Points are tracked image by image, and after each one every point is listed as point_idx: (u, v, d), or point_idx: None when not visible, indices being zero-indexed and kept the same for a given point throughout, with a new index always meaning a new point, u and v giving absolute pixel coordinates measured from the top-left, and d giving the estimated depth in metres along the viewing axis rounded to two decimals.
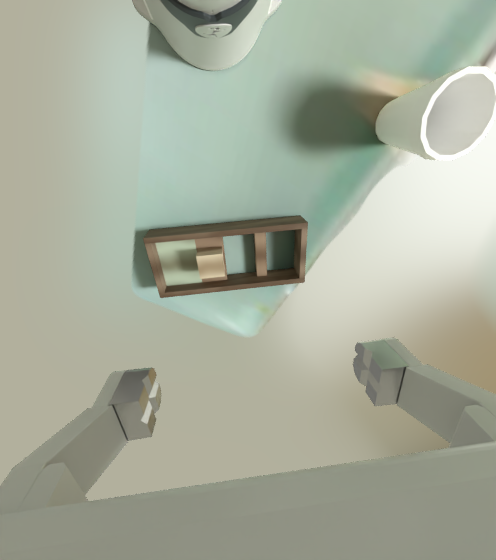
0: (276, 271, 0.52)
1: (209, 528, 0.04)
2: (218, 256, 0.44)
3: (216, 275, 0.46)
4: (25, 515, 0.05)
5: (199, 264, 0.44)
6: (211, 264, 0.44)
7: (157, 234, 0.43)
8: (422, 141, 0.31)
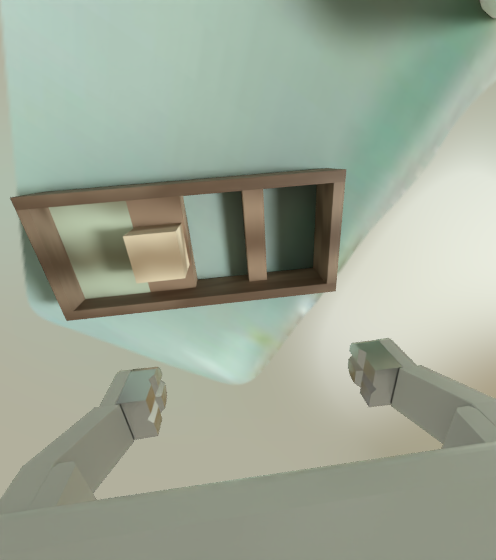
0: (283, 273, 0.30)
1: (209, 528, 0.04)
2: (169, 236, 0.22)
3: (168, 276, 0.23)
4: (25, 515, 0.05)
5: (131, 253, 0.22)
6: (155, 254, 0.22)
7: (47, 193, 0.22)
8: None
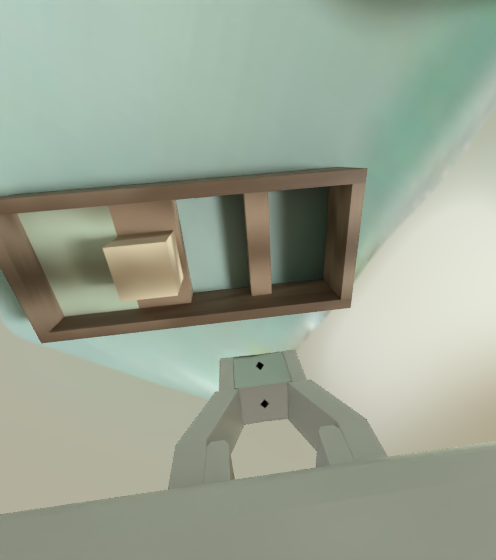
0: (290, 285, 0.26)
1: (209, 528, 0.04)
2: (158, 247, 0.18)
3: (157, 293, 0.20)
4: (25, 515, 0.05)
5: (113, 267, 0.19)
6: (141, 268, 0.19)
7: (13, 196, 0.18)
8: None
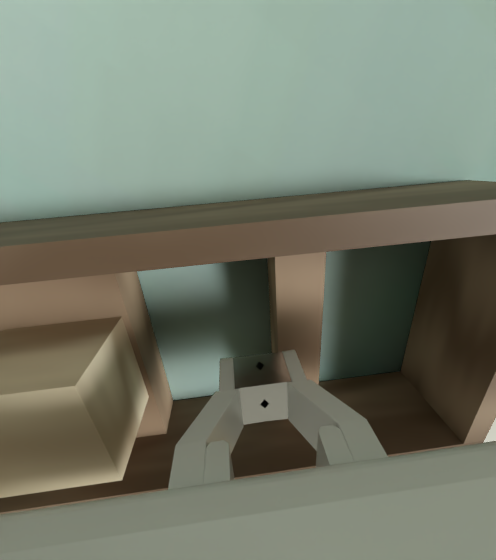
0: (346, 389, 0.15)
1: (209, 528, 0.04)
2: (58, 397, 0.07)
3: (73, 481, 0.08)
4: (25, 515, 0.05)
5: None
6: (22, 440, 0.08)
7: None
8: None
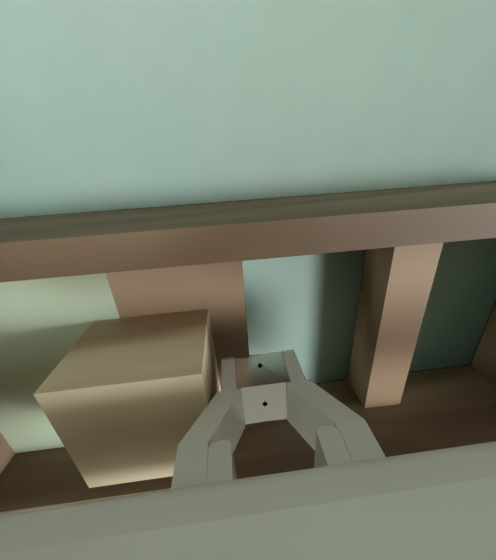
0: (421, 381, 0.15)
1: (209, 528, 0.04)
2: (182, 385, 0.07)
3: None
4: (25, 515, 0.05)
5: (68, 431, 0.07)
6: (138, 428, 0.08)
7: None
8: None
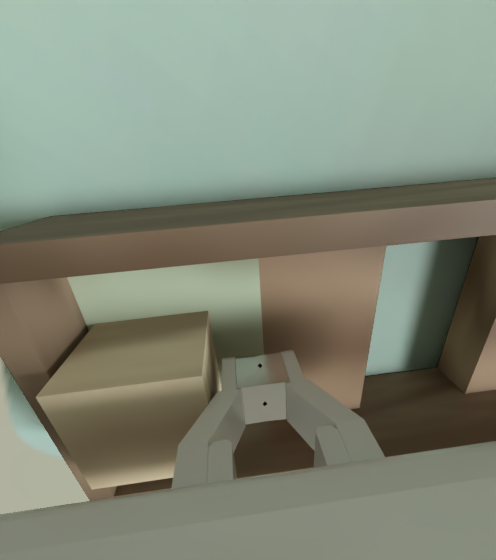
0: None
1: (209, 528, 0.04)
2: (183, 388, 0.07)
3: None
4: (25, 515, 0.05)
5: (70, 433, 0.08)
6: (140, 430, 0.08)
7: (60, 227, 0.08)
8: None
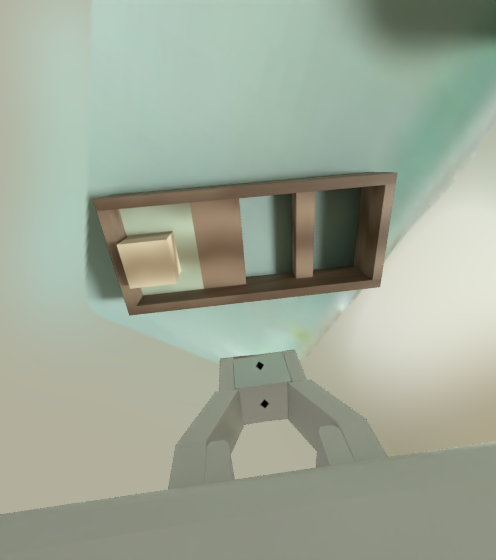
0: (326, 271, 0.31)
1: (209, 528, 0.04)
2: (160, 243, 0.23)
3: (159, 282, 0.25)
4: (25, 515, 0.05)
5: (125, 260, 0.24)
6: (147, 261, 0.24)
7: (122, 195, 0.24)
8: None
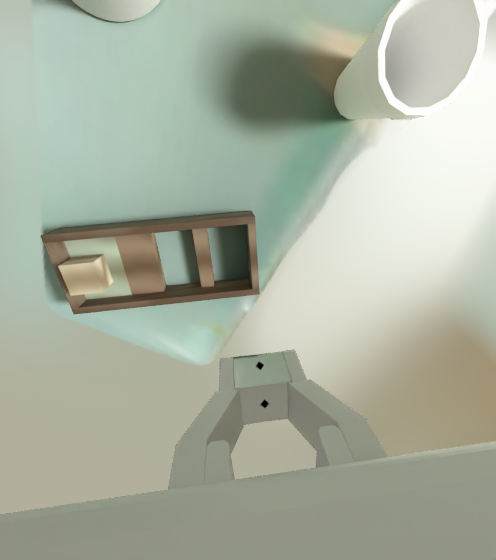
0: (227, 281, 0.42)
1: (209, 528, 0.04)
2: (89, 265, 0.34)
3: (91, 291, 0.35)
4: (25, 515, 0.05)
5: (65, 276, 0.34)
6: (81, 276, 0.34)
7: (63, 231, 0.34)
8: (382, 86, 0.22)
